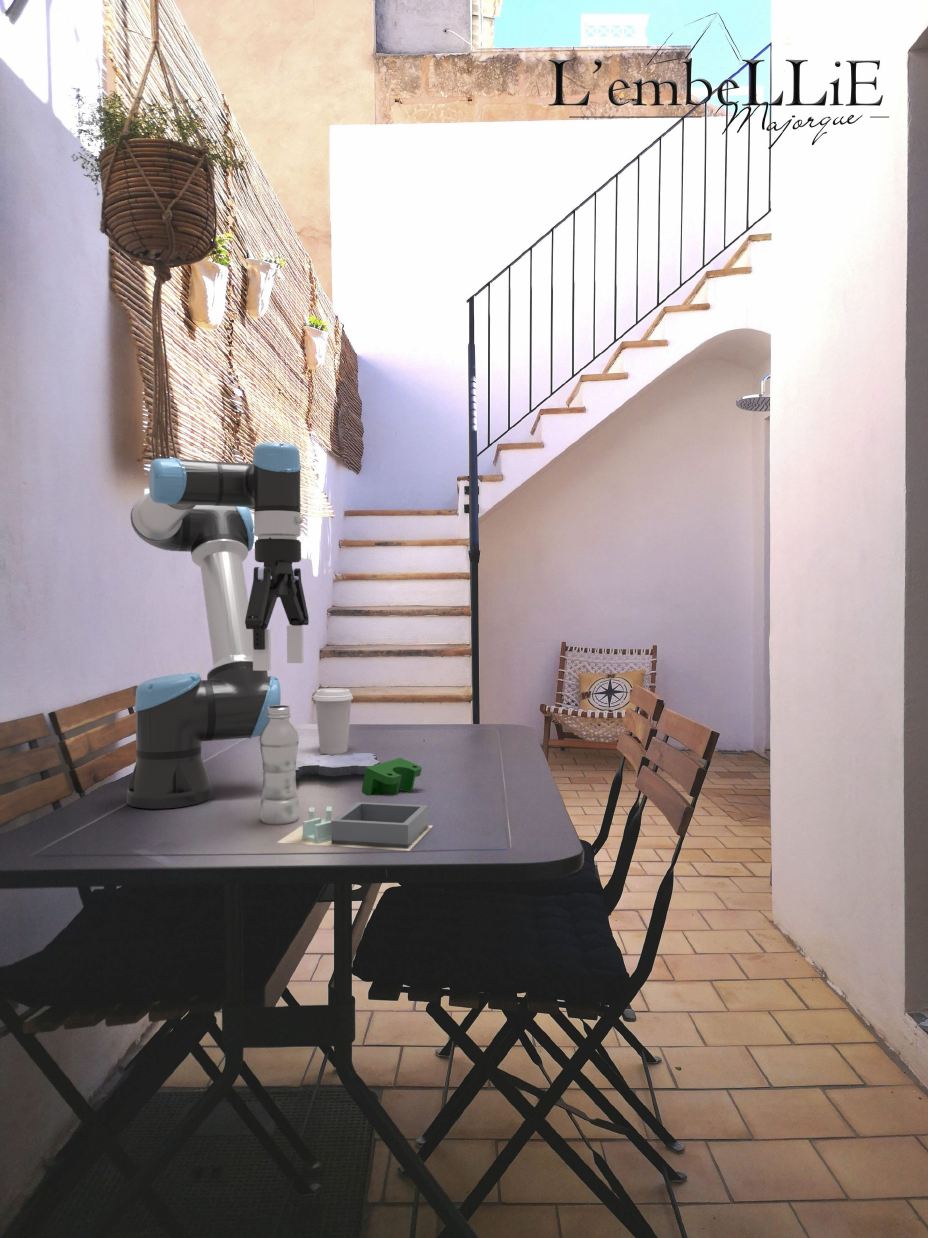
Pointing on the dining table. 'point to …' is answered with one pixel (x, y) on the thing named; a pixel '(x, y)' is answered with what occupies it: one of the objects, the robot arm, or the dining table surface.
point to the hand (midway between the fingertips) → (279, 666)
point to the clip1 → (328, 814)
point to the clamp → (390, 777)
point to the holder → (380, 825)
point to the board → (297, 834)
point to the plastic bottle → (279, 768)
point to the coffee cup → (333, 719)
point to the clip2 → (316, 830)
